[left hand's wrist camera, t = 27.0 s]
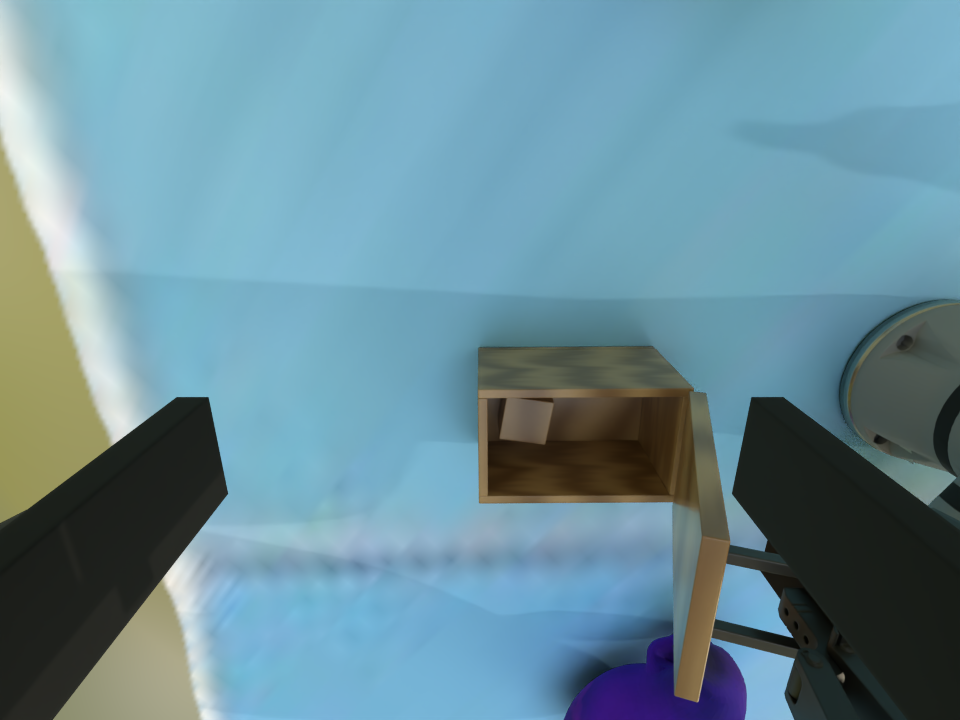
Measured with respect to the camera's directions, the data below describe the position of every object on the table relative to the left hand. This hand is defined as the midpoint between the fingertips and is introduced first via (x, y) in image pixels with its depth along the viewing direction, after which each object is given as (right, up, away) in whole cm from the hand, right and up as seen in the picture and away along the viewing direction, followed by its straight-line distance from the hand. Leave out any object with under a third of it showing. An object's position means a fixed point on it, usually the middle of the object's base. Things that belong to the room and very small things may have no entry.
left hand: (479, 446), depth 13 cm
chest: (+8, -1, +37) cm, 37 cm away
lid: (+13, -8, +19) cm, 25 cm away
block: (+4, -2, +36) cm, 36 cm away
